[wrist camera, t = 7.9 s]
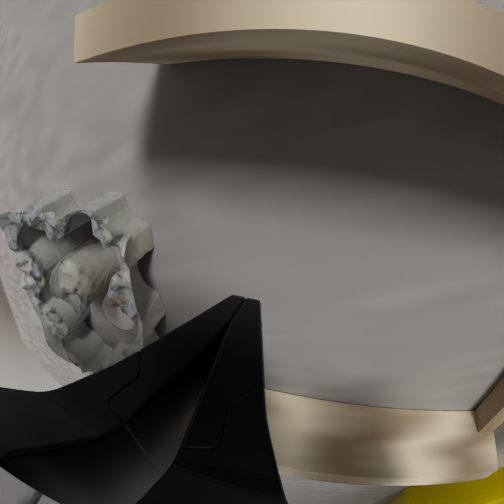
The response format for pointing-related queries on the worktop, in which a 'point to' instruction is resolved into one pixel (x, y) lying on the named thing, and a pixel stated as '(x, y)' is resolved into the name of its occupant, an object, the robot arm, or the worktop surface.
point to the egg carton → (85, 274)
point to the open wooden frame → (357, 53)
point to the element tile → (457, 492)
